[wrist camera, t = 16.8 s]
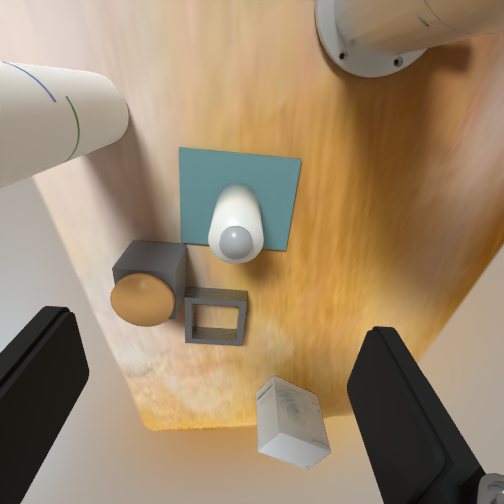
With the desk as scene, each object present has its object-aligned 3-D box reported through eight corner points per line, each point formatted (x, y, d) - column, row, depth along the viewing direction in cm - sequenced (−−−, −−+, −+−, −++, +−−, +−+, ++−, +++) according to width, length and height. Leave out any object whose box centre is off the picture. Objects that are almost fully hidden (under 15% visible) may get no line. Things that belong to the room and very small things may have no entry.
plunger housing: (186, 244, 39) (174, 272, 33) (186, 286, 43) (176, 318, 37) (133, 240, 39) (112, 268, 33) (138, 282, 42) (119, 315, 36)
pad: (300, 158, 34) (301, 159, 34) (285, 248, 40) (285, 250, 40) (179, 147, 33) (178, 148, 33) (182, 240, 39) (181, 242, 39)
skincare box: (318, 393, 56) (333, 453, 46) (297, 411, 58) (307, 471, 49) (274, 373, 53) (280, 433, 43) (254, 393, 55) (256, 453, 46)
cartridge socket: (247, 290, 43) (247, 301, 41) (242, 334, 48) (242, 346, 46) (187, 286, 43) (184, 297, 41) (188, 331, 47) (185, 342, 45)
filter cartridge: (261, 185, 35) (267, 221, 25) (256, 224, 38) (260, 271, 28) (217, 181, 35) (207, 216, 25) (215, 221, 37) (206, 267, 28)
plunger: (180, 257, 36) (171, 280, 32) (181, 302, 40) (173, 328, 35) (123, 253, 36) (106, 276, 32) (129, 298, 39) (114, 324, 35)
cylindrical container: (91, 54, 29) (-381, -51, 7) (142, 120, 32) (-83, 185, 10) (45, 99, 31) (-442, 125, 9) (97, 157, 34) (-175, 281, 12)
